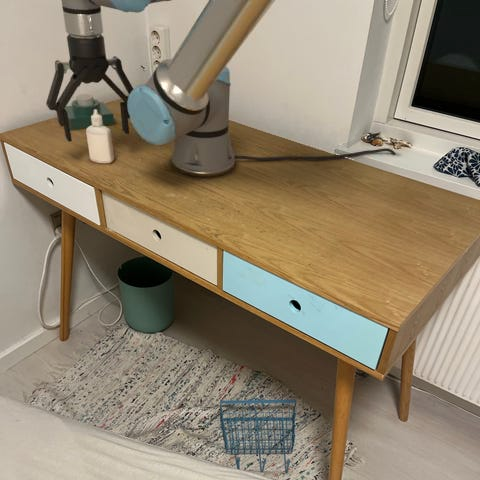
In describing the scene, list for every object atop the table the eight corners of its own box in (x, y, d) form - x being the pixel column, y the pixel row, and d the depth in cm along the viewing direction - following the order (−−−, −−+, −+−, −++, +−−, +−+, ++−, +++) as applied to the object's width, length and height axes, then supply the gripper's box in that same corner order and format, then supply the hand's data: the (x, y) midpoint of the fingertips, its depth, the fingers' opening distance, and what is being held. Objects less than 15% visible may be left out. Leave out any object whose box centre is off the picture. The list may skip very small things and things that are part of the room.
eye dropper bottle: (102, 166, 120) (95, 115, 112) (87, 159, 123) (79, 108, 115) (116, 161, 123) (111, 110, 115) (102, 154, 125) (95, 104, 117)
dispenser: (103, 112, 147) (101, 94, 144) (114, 124, 141) (112, 106, 138) (62, 117, 143) (59, 99, 139) (71, 130, 136) (67, 111, 133)
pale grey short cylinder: (91, 101, 141) (90, 93, 140) (95, 106, 138) (94, 98, 137) (75, 102, 139) (74, 95, 138) (79, 107, 136) (78, 100, 135)
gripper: (136, 27, 112) (142, 123, 126) (18, 33, 102) (39, 136, 116) (148, 35, 107) (153, 134, 121) (26, 42, 98) (47, 148, 112)
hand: (97, 135), depth 119 cm, fingers open, 13 cm apart
